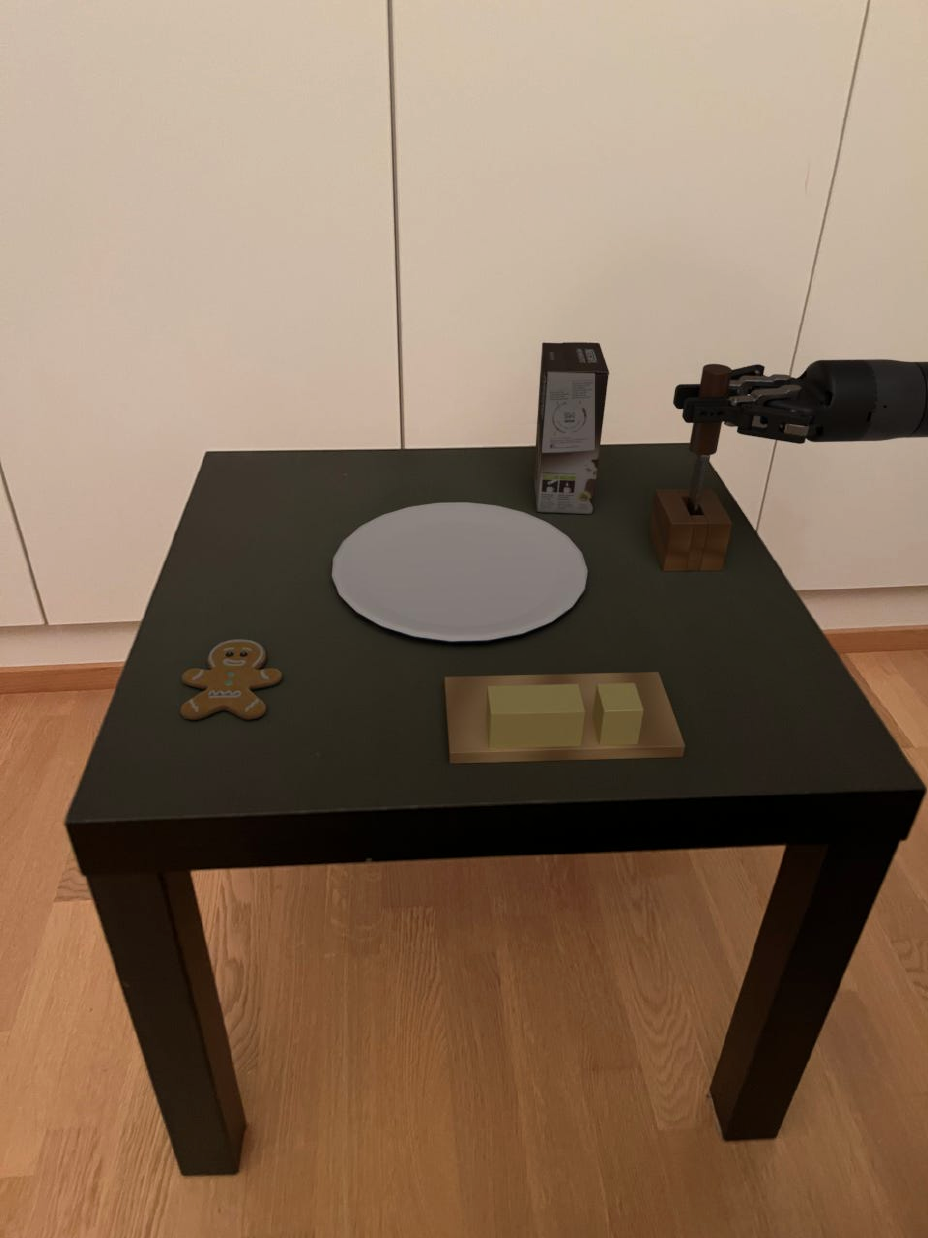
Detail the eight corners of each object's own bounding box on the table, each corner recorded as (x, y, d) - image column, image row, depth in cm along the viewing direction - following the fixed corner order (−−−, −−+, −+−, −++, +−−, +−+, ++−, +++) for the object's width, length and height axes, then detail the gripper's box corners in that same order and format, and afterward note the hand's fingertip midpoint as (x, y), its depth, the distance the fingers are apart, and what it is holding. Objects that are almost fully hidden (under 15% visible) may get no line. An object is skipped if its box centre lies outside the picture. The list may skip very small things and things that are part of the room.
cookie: (166, 713, 74) (192, 636, 82) (168, 722, 75) (194, 644, 83) (273, 713, 75) (288, 636, 83) (274, 722, 75) (289, 644, 83)
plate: (629, 556, 96) (631, 546, 96) (500, 686, 79) (501, 674, 79) (429, 488, 107) (429, 479, 107) (277, 590, 90) (276, 579, 90)
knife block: (703, 534, 100) (712, 488, 97) (722, 570, 95) (732, 522, 92) (647, 535, 100) (655, 489, 97) (663, 571, 94) (671, 523, 91)
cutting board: (656, 682, 80) (658, 671, 79) (683, 757, 73) (685, 746, 72) (444, 687, 79) (444, 676, 78) (449, 764, 72) (449, 752, 71)
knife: (699, 510, 96) (727, 363, 87) (706, 523, 94) (735, 373, 85) (674, 510, 96) (699, 363, 87) (681, 523, 94) (707, 373, 85)
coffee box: (594, 515, 103) (610, 372, 94) (535, 513, 103) (545, 370, 94) (587, 476, 111) (601, 340, 101) (532, 475, 111) (541, 339, 101)
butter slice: (629, 716, 75) (635, 682, 73) (638, 744, 72) (644, 709, 70) (592, 717, 75) (596, 683, 73) (599, 745, 72) (604, 710, 70)
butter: (574, 718, 75) (578, 683, 73) (580, 746, 72) (585, 711, 70) (485, 720, 74) (487, 685, 72) (489, 748, 72) (490, 713, 69)
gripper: (839, 336, 92) (665, 337, 91) (905, 390, 81) (708, 393, 80) (820, 408, 97) (655, 411, 95) (881, 470, 85) (694, 474, 84)
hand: (680, 403), depth 88 cm, fingers closed on knife, 2 cm apart
